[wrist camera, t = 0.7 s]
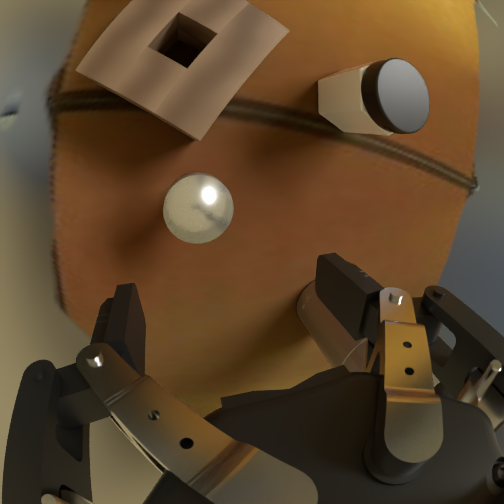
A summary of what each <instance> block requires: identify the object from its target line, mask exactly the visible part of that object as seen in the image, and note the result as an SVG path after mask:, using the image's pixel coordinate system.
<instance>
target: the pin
mask: <svg viewBox="0 0 504 504" xmlns="http://www.w3.org/2000/svg"><path fill="white" fill-rule="evenodd" d="M163 215H164V220H165V223H166V225H167V227H168V228H169V230H170V231H171V232H172V233H173V234H174V235H175V236H176V237H178V238H179V239H181V240H183V241H185V242H189V243H205V242H209V241H211V240H214V239H215V238H217V237H219V236H220V235H221V234H222V233H223V232H224V231H225V230H226V229H227V227H228V226H229V224H230V222H231V219H232V216H233V201H232V197H231V195H230V193H229V191H228V189H227V188H226V187H225V186H224V185H223V184H222V183H221V182H220V181H219V180H218V179H217V178H216V177H214V176H213V175H211V174H208V173H205V172H190V173H186V174H184V175H182V176H180V177H179V178H177V179H176V180H175V181H174V182H173V183H172V184H171V185H170V187H169V189H168V190H167V193H166V196H165V201H164V206H163Z"/></svg>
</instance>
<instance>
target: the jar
mask: <svg viewBox="0 0 504 504" xmlns="http://www.w3.org/2000/svg"><path fill="white" fill-rule="evenodd" d="M429 109H430V100H429V93H428V90H427V86H426V84H425V82H424V80H423V78H422V76H421V75H420V73H419V72H418V70H417V69H416V68H415V67H414V66H413V65H411V64H410V63H409V62H407V61H405V60H403V59H399V58H390V59H384V60H379V61H375V62H371V63H367V64H363V65H359V66H355V67H351V68H348V69H344V70H341V71H339V72H336V73H334V74H332V75H329V76H327V77H325V78H322V79H320V80H318V113H319V114H320V115H322V116H323V117H324V118H326V119H327V120H328V121H330V122H331V123H332V124H334V125H335V126H336V127H338V128H339V129H340V130H341V131H343V132H349V133H364V134H377V135H387V136H389V135H391V134H393V133H399V134H411V133H415V132H417V131H419V130H420V129H421V128H422V127H423V126H424V124H425V123H426V121H427V118H428V115H429Z"/></svg>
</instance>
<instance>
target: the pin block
mask: <svg viewBox="0 0 504 504" xmlns="http://www.w3.org/2000/svg"><path fill="white" fill-rule="evenodd" d="M288 32H289V30H288V29H287V28H285V27H284V26H283V25H281V24H280V23H279V22H277V21H276V20H274V19H273V18H271V17H270V16H269V15H267V14H266V13H264V12H263V11H261V10H260V9H258V8H256V7H255V6H253V5H252V4H250V3H249V2H247V1H245V0H132V1H131V2H130V3H129V4H128V5H127V6H126V7H125V8H124V9H123V10H122V11H121V13H120V14H119V15H118V16H117V17H116V18H115V19H114V20H113V21H112V23H111V24H110V25H109V26H108V27H107V28H106V30H105V31H104V32H103V33H102V35H101V36H100V37H99V38H98V40H97V41H96V42H95V43H94V45H93V46H92V47H91V49H90V50H89V51H88V53H87V54H86V55H85V57H84V58H83V60H82V61H81V63H80V64H79V65H78V67H77V68H76V70H75V71H77V72H78V73H80V74H81V75H83V76H85V77H86V78H88V79H90V80H91V81H93V82H94V83H96V84H98V85H99V86H101V87H103V88H105V89H107V90H109V91H111V92H113V93H114V94H116V95H118V96H120V97H122V98H124V99H125V100H127V101H129V102H131V103H133V104H134V105H136V106H138V107H140V108H142V109H143V110H145V111H147V112H149V113H150V114H152V115H154V116H155V117H157V118H159V119H161V120H162V121H164V122H166V123H167V124H169V125H171V126H172V127H174V128H176V129H177V130H179V131H180V132H182V133H184V134H185V135H187V136H189V137H190V138H192V139H193V140H195V141H201V139H202V138H203V136H204V135H205V133H206V132H207V131H208V129H209V128H210V126H211V125H212V124H213V122H214V121H215V120H216V118H217V117H218V115H219V114H220V113H221V111H222V110H223V109H224V107H225V106H226V105H227V104H228V102H229V101H230V100H231V98H232V97H233V96H234V94H235V93H236V92H237V91H238V89H239V88H240V87H241V86H242V84H243V83H244V82H245V81H246V79H247V78H248V77H249V76H250V75H251V73H252V72H253V71H254V70H255V69H256V67H257V66H258V65H259V64H260V63H261V62H262V60H263V59H264V58H265V57H266V56H267V55H268V54H269V53H270V51H271V50H272V49H273V48H274V47H275V46H276V45H277V44H278V43H279V41H280V40H281V39H282V38H283V37H284V36H285V35H286V34H287V33H288ZM177 39H178V40H180V41H181V42H183V43H185V44H187V45H189V46H190V47H192V48H194V49H195V50H197V51H199V52H201V53H200V54H199V55H198V56H197V58H196V59H195V60H194V61H193V62H192V64H191V65H190V66H189V67H188V68H185V67H184V66H182V65H180V64H179V63H177V62H175V61H173V60H171V59H170V58H168V57H166V56H164V55H165V53H166V52H167V51H168V50H169V49H170V47H171V46H172V45H173V44H174V43H175V42H176V41H177Z"/></svg>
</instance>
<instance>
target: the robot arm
mask: <svg viewBox="0 0 504 504" xmlns="http://www.w3.org/2000/svg"><path fill="white" fill-rule="evenodd" d="M297 314H298V316H299V318H300V319H301V321H302V322H303V324H304V326H305V327H306V329H307V330H308V332H309V333H310V335H311V336H312V338H313V339H314V341H315V342H316V344H317V345H318V347H319V348H320V350H321V351H322V353H323V354H324V356H325V357H326V359H327V360H328V362H329V363H330V365H331V366H332V369H329V370H326V371H323V372H320V373H317V374H315V375H314V376H312V377H310V378H308V379H307V380H305V381H303V382H302V383H300V384H298V385H296V386H294V387H293V388H290V389H284V390H266V391H251V392H247V393H242V394H238V395H233V396H228V397H223V398H221V403H222V408H219V409H217V410H215V411H213V412H212V413H210V414H208V415H207V416H206V417H204V418H202V417H200V416H199V415H198V414H196V413H195V412H194V411H192V410H191V409H190V408H188V407H187V406H186V405H184V404H183V403H182V402H180V401H179V400H178V399H177V398H175V397H174V396H173V395H172V394H170V393H169V392H168V391H167V390H165V389H164V388H163V387H162V386H161V385H160V384H158V383H157V382H156V381H155V380H154V379H153V378H151V377H150V376H148V375H145V335H146V324H145V317H144V313H143V310H142V306H141V302H140V299H139V295H138V291H137V287H136V285H135V283H130V284H122V285H117V288H116V291H115V295H114V298H107V300H106V301H105V302H104V303H103V304H102V305H101V307H100V310H99V314H98V315H99V316H98V317H97V320H96V322H97V323H96V324H95V328H94V331H93V335H92V339H91V343H90V345H88V346H86V347H84V348H83V349H82V350H81V351H80V352H79V353H78V354H77V357H76V363H74V364H71V365H68V366H65V367H62V368H59V369H56V368H55V366H54V365H53V363H52V362H50V361H48V360H38V361H36V362H33V363H32V364H30V365H29V366H28V367H27V369H26V370H25V371H24V373H23V376H22V380H21V383H20V387H19V390H18V394H17V397H16V401H15V406H14V410H13V414H12V419H11V423H10V429H9V434H8V439H7V446H6V453H5V461H4V471H3V486H2V504H94V503H93V501H92V491H91V478H90V458H89V427H90V423H91V422H94V421H97V420H100V419H103V418H106V417H110V418H111V419H112V421H113V422H114V423H115V424H116V425H117V427H118V428H119V429H120V430H121V431H122V432H123V433H124V434H125V436H126V437H127V438H128V439H129V440H130V441H131V442H132V443H133V444H134V445H135V446H136V447H137V448H138V450H140V452H141V453H142V454H143V455H144V456H145V457H146V458H147V459H148V460H149V461H150V462H151V463H152V464H153V465H154V466H155V467H156V468H157V469H158V470H159V471H160V472H161V473H162V474H163V475H162V476H161V478H160V479H159V481H158V482H157V483H156V485H155V487H154V488H153V490H152V491H151V492H150V494H149V495H148V497H147V498H146V500H145V501H144V503H143V504H504V337H503V336H502V335H501V334H500V333H498V331H496V330H495V329H494V328H493V327H492V326H491V325H490V324H488V323H487V322H486V321H485V320H483V319H482V318H481V317H480V316H479V315H478V314H477V313H475V312H474V311H473V310H472V309H471V308H469V307H468V306H467V305H466V304H464V303H463V302H462V301H461V300H459V299H458V298H457V297H456V296H454V295H453V294H452V293H450V292H449V291H448V290H446V289H445V288H442V287H439V286H428V287H426V289H425V291H424V295H423V297H417V298H411V296H410V295H409V294H408V293H407V292H406V291H404V290H402V289H399V288H392V287H391V288H384V287H382V286H381V285H380V284H379V283H377V282H376V281H375V280H374V279H372V278H371V277H370V276H368V275H367V274H366V273H365V272H363V271H362V270H361V269H360V268H359V267H357V266H356V265H354V264H352V263H349V262H347V261H345V260H344V259H343V258H341V257H340V256H339V255H338V254H336V253H330V254H324V255H319V257H318V259H317V268H316V279H315V281H313V282H312V283H311V284H309V285H308V286H307V287H306V288H305V289H304V290H303V292H302V293H301V295H300V297H299V299H298V302H297ZM443 324H444V325H445V326H446V327H447V328H448V329H449V330H450V331H451V332H452V333H453V334H454V335H455V337H456V345H455V347H454V349H453V350H452V349H451V348H450V347H449V346H448V345H447V344H446V343H445V342H444V341H443V340H442V339H441V338H440V337H439V336H438V335H439V333H440V330H441V328H442V326H443ZM433 374H434V375H435V376H436V377H437V378H438V380H439V381H440V383H439V384H437V385H436V386H435V387H434V382H433Z"/></svg>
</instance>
